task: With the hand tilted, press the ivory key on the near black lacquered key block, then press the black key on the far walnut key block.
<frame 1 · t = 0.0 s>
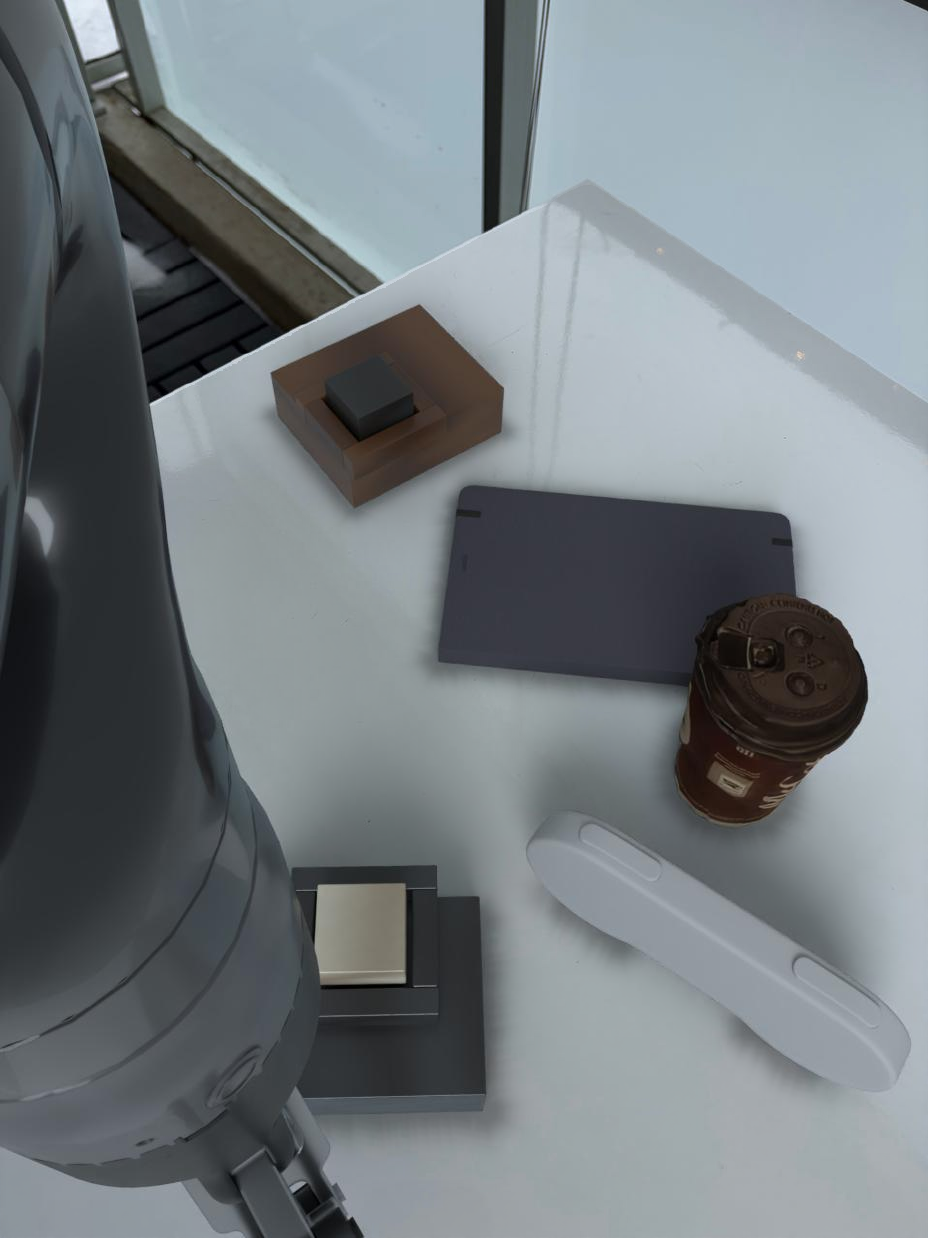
hand: (238, 1098, 35), 18 cm above the table, tool pointing down, fingers open, 8 cm apart
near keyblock: (368, 1015, 53), on the table
ebony key: (369, 397, 67), point 7 cm above the table, slide at 0.1 cm
notebook: (618, 594, 68), on the table
ivory key: (361, 934, 49), point 7 cm above the table, slide at 0.1 cm
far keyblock: (389, 424, 75), on the table
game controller: (689, 971, 55), on the table
coffee cup: (725, 775, 61), on the table
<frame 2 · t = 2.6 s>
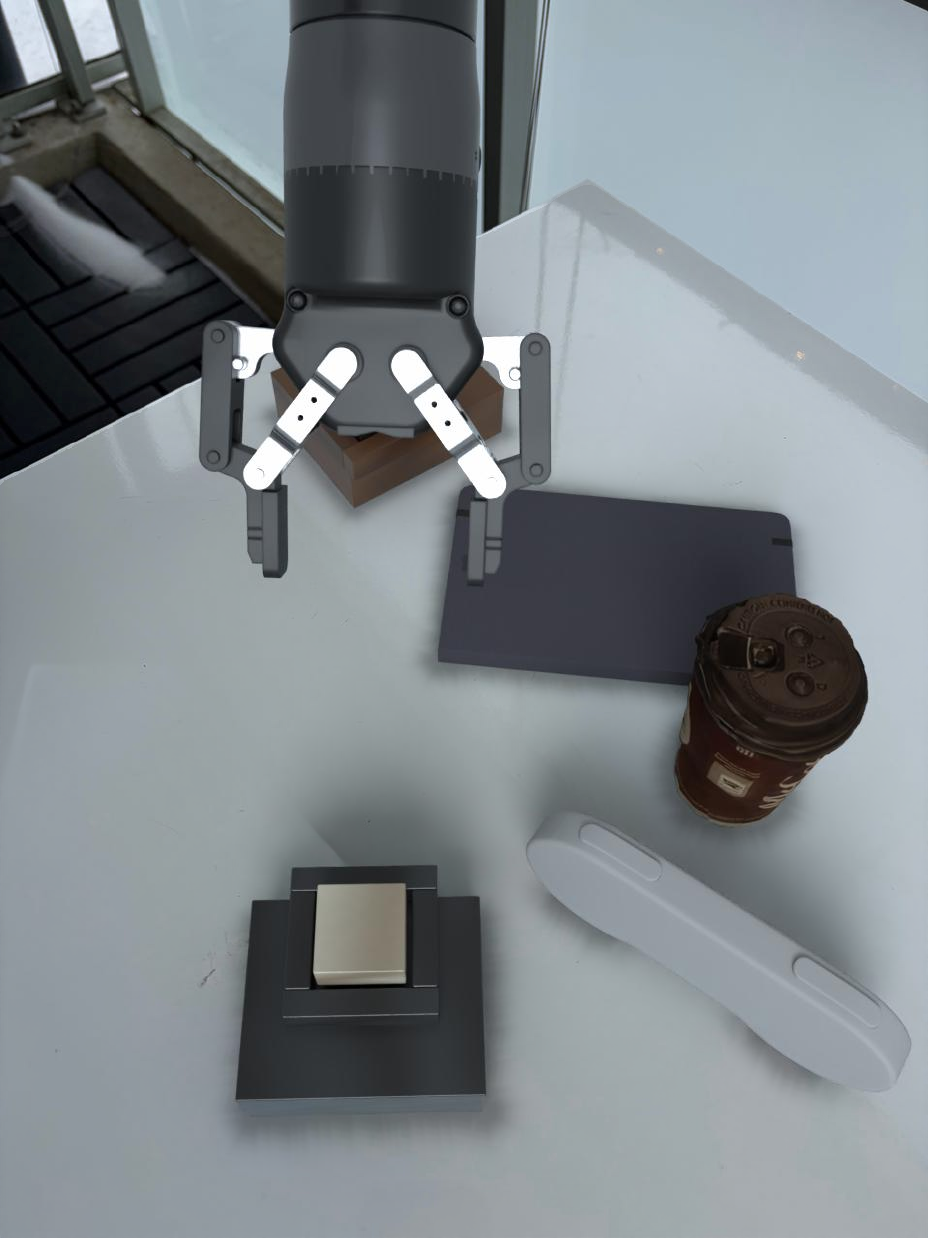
hand: (375, 578, 46), 18 cm above the table, tool tilted 40°, fingers open, 8 cm apart
nothing on the table moved.
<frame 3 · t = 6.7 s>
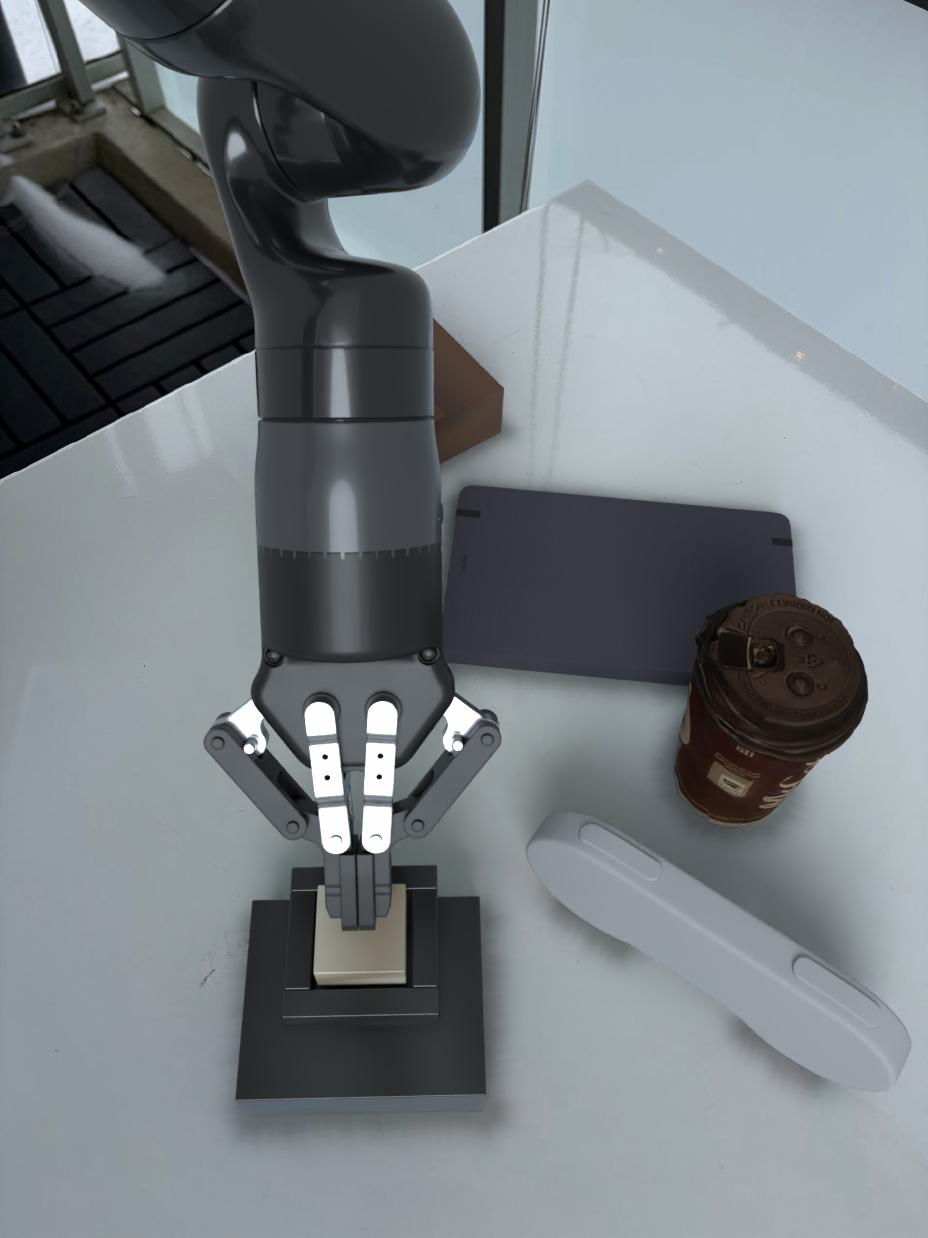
hand: (360, 922, 48), 8 cm above the table, tool tilted 45°, fingers closed
ivory key: (361, 934, 49), point 7 cm above the table, slide at 0.0 cm, touching gripper
everything else where it was.
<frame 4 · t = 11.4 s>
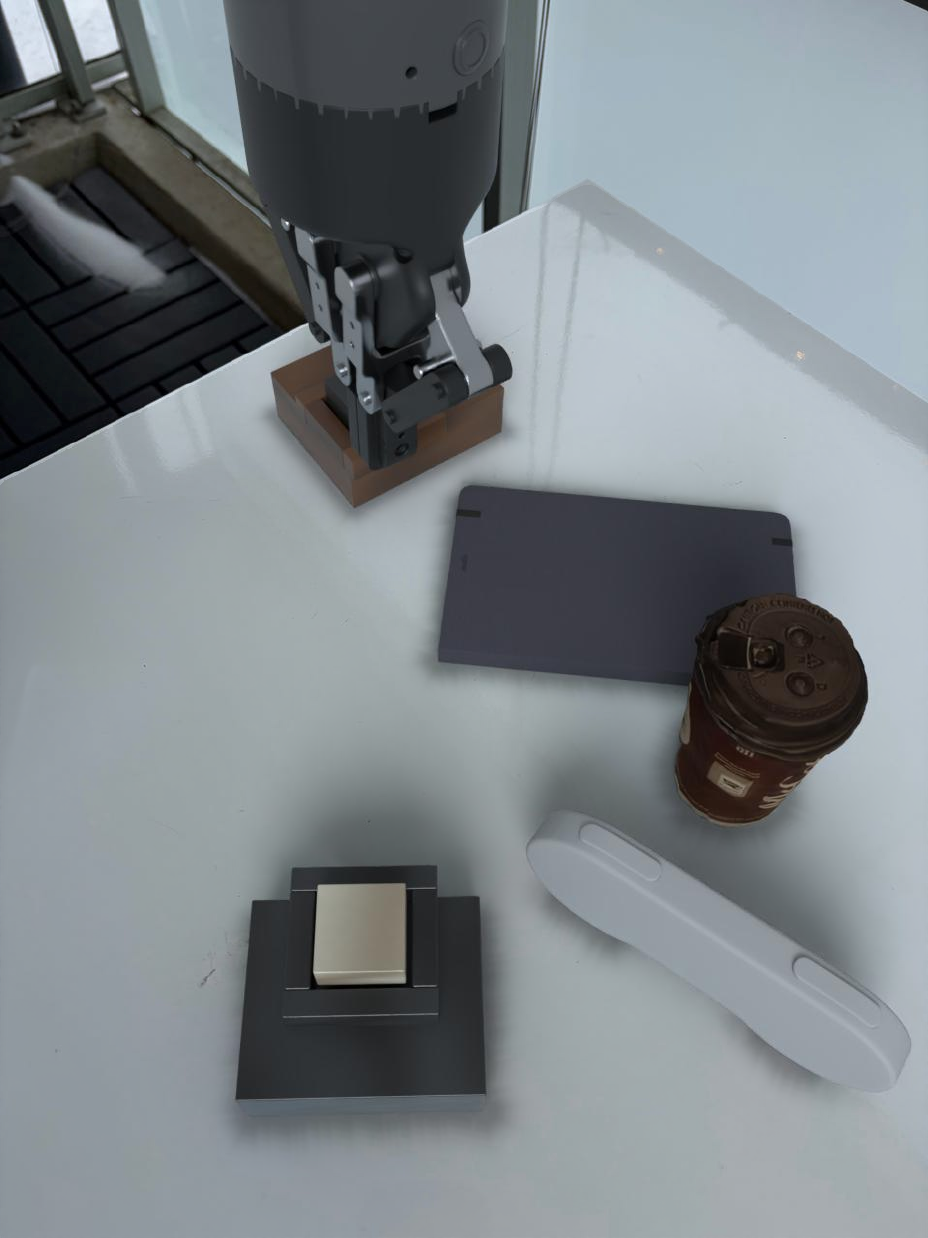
hand: (384, 451, 44), 23 cm above the table, tool pointing down, fingers closed
ivory key: (361, 934, 49), point 7 cm above the table, slide at 0.1 cm
everything else where it was.
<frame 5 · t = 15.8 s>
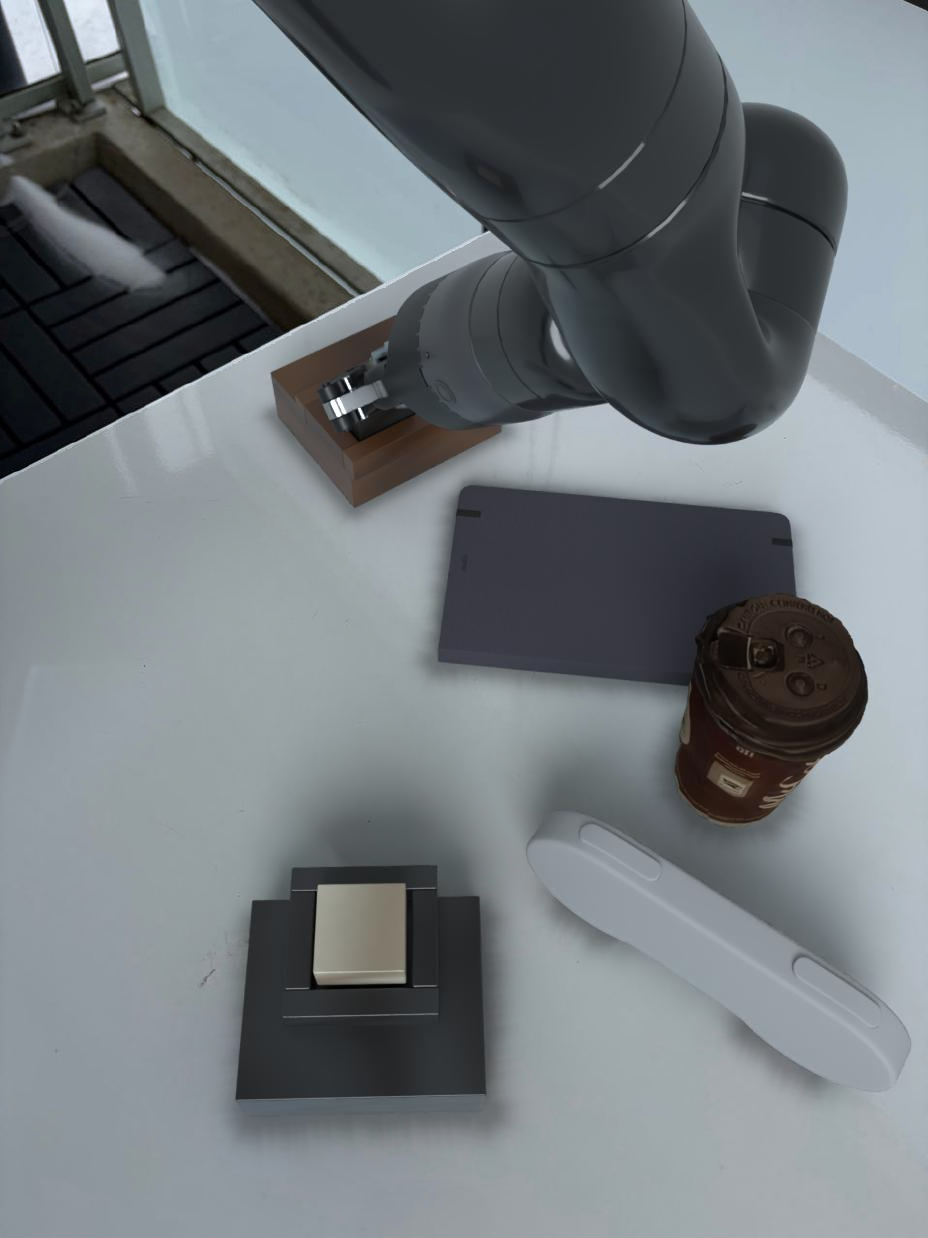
hand: (369, 380, 66), 8 cm above the table, tool tilted 45°, fingers closed
ebony key: (369, 400, 67), point 6 cm above the table, slide at -0.1 cm, touching gripper
everything else where it was.
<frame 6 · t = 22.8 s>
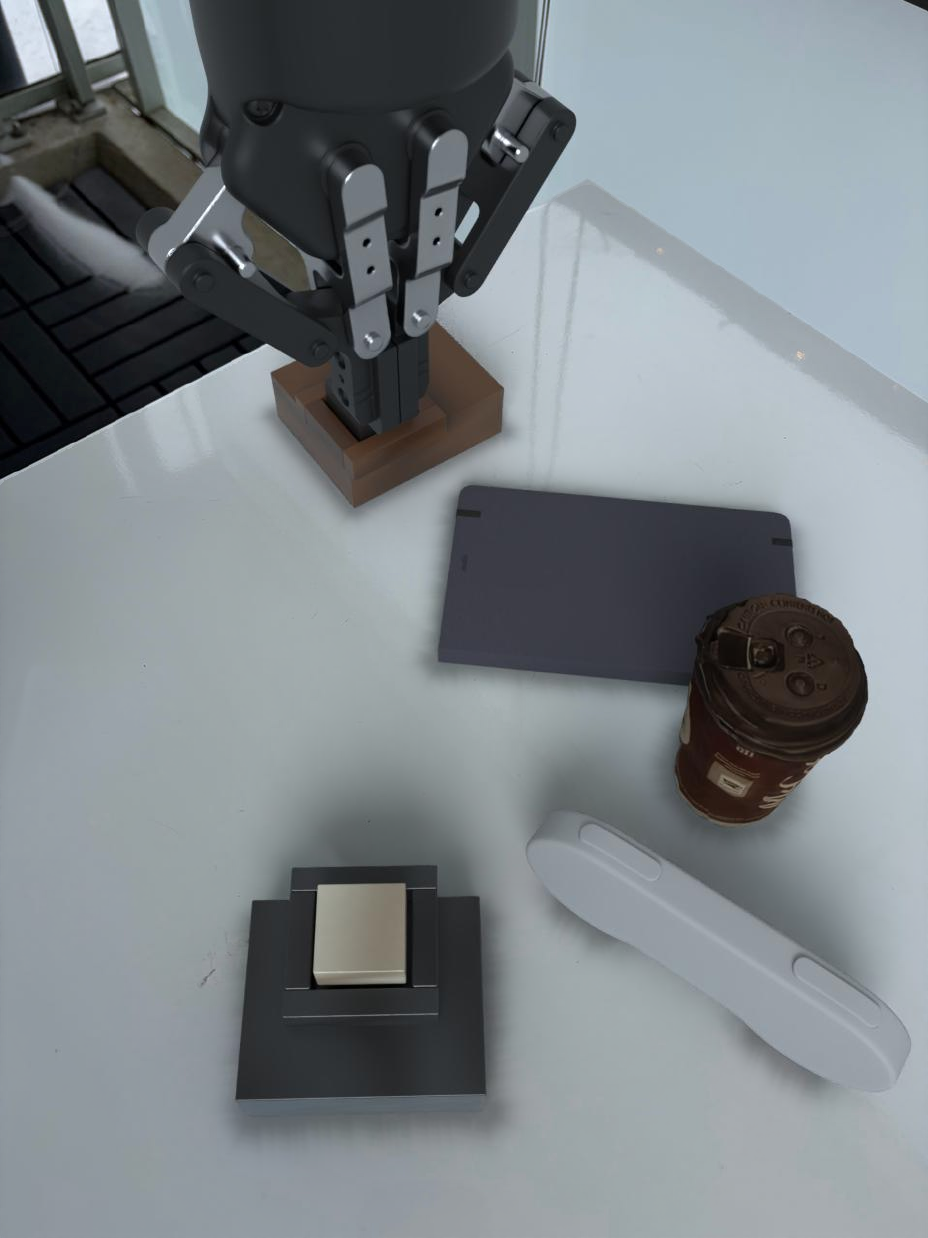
hand: (382, 411, 36), 29 cm above the table, tool pointing down, fingers closed
ebony key: (369, 397, 67), point 7 cm above the table, slide at 0.1 cm
everything else where it was.
at the end: ivory key pushed in 1.3 cm at the most during the clip, back to where it started at the end; ebony key pushed in 1.3 cm at the most during the clip, back to where it started at the end; ebony key slide at 0.1 cm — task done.
